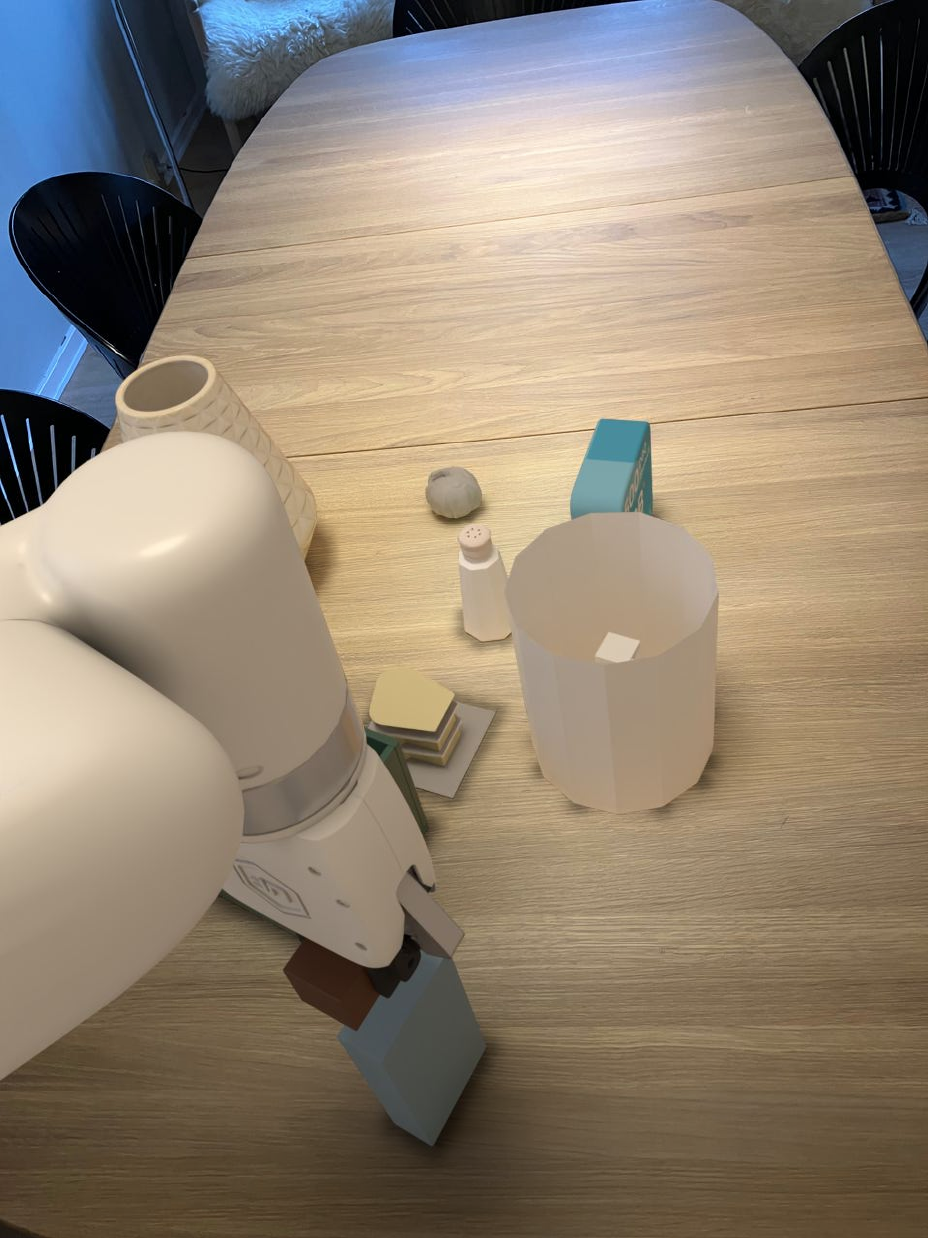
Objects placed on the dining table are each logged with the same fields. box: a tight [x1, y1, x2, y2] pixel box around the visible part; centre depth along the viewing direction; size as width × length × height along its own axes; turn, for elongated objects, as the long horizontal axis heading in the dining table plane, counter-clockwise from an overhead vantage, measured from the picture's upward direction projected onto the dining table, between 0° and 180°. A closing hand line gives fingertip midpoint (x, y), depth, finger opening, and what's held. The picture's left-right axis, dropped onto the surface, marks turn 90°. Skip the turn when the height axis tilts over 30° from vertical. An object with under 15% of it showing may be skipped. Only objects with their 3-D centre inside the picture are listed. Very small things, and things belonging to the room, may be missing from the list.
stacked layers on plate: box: [367, 665, 497, 799], centre depth 85 cm, size 10×9×6 cm
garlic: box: [424, 465, 483, 519], centre depth 104 cm, size 6×5×5 cm
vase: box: [114, 354, 318, 562], centre depth 95 cm, size 17×17×23 cm
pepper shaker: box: [457, 523, 512, 643], centre depth 90 cm, size 5×5×11 cm
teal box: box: [569, 418, 654, 520], centre depth 93 cm, size 12×4×12 cm, turn 162°
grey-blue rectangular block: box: [336, 950, 487, 1147], centre depth 62 cm, size 7×3×15 cm, turn 149°
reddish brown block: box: [282, 937, 380, 1031], centre depth 51 cm, size 7×4×4 cm, turn 149°
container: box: [504, 512, 720, 815], centre depth 77 cm, size 14×14×18 cm
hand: (365, 950), depth 52 cm, fingers closed on reddish brown block, 3 cm apart
